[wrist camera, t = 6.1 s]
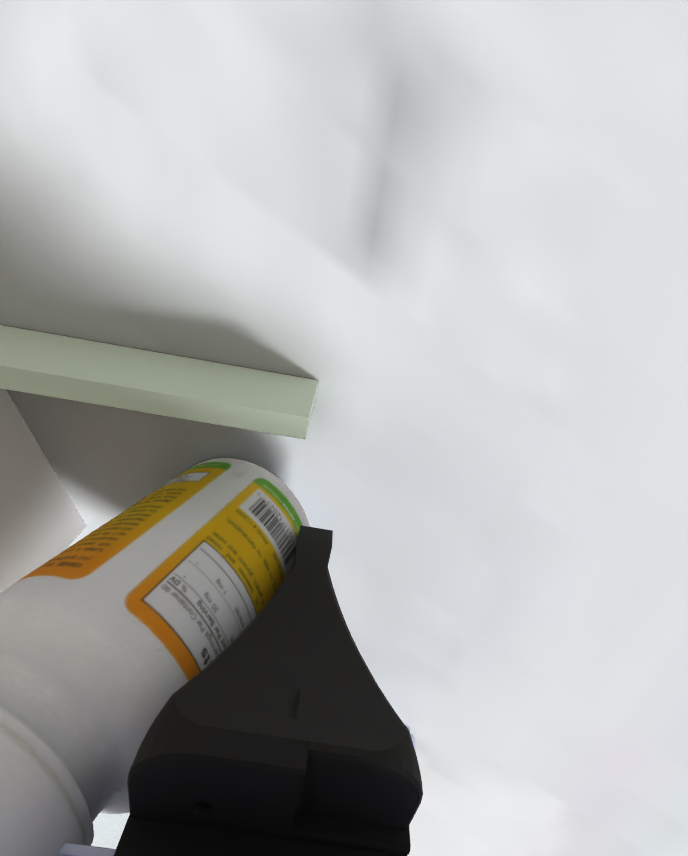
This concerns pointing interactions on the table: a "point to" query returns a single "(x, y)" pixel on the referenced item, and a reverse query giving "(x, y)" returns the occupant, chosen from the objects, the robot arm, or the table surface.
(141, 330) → the table surface
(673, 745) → the table surface
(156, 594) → the supplement bottle
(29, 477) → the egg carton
